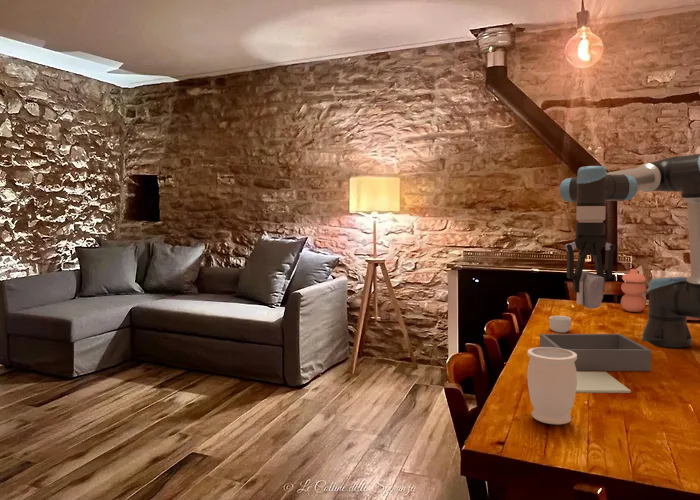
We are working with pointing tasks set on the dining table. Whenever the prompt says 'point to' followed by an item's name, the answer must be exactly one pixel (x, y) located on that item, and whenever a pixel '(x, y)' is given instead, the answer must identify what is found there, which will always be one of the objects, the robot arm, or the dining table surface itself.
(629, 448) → the dining table surface
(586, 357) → the access frame
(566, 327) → the teacup
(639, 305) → the ceramic vessels
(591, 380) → the board
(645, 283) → the ceramic sculpture
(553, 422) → the jar
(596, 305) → the stone block
